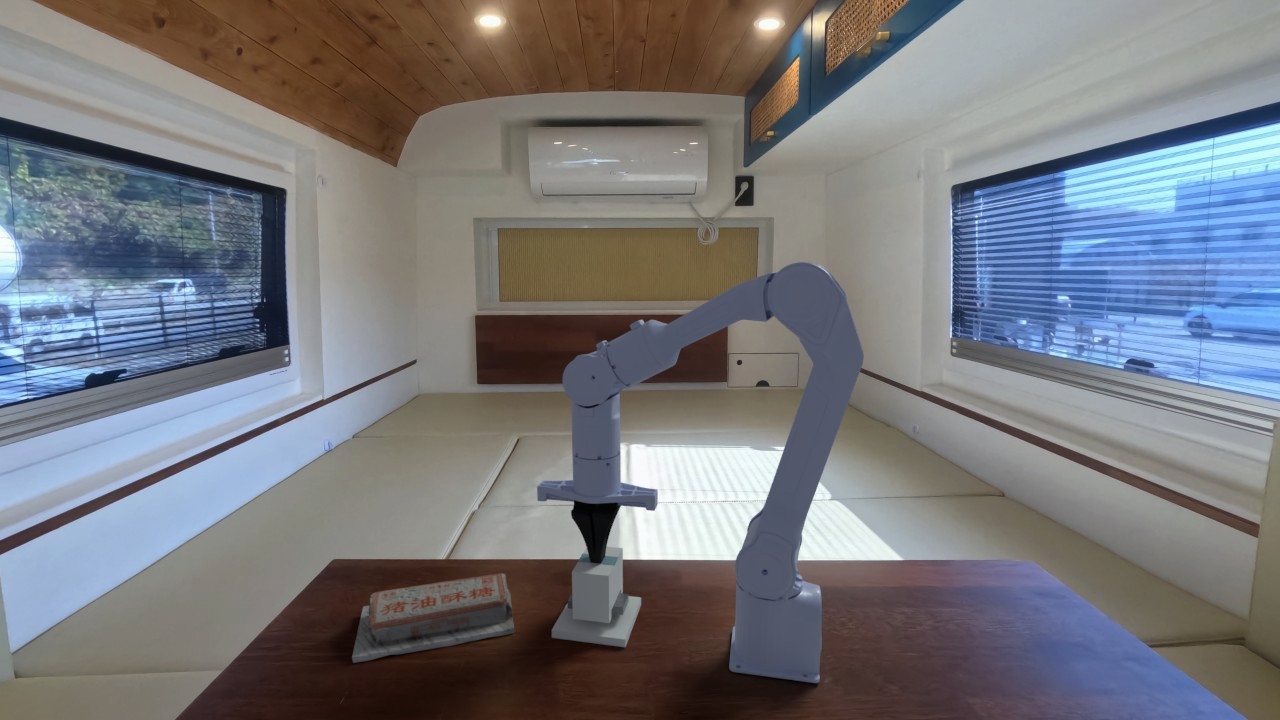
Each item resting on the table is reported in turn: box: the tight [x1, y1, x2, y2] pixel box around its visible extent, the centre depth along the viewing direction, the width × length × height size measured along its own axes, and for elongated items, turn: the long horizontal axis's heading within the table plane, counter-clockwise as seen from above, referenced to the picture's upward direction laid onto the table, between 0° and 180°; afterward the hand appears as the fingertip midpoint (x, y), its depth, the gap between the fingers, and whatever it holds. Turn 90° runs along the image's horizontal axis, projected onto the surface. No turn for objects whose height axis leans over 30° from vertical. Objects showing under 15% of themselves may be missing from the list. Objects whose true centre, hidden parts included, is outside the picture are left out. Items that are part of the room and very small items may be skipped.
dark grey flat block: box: [566, 592, 630, 615], centre depth 74 cm, size 7×3×1 cm, turn 78°
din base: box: [551, 595, 642, 648], centre depth 74 cm, size 9×9×1 cm
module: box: [571, 546, 624, 623], centre depth 73 cm, size 5×7×6 cm, turn 168°
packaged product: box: [351, 572, 515, 664], centre depth 73 cm, size 18×5×10 cm
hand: (597, 559), depth 73 cm, fingers closed
